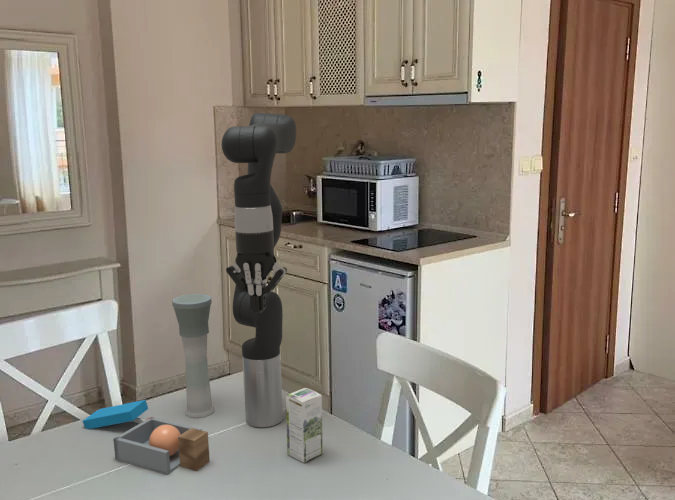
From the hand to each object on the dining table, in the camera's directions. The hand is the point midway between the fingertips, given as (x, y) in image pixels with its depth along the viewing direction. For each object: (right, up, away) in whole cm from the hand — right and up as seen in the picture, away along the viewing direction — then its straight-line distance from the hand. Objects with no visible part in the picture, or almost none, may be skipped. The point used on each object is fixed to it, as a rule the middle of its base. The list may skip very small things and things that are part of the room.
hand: (258, 312), depth 138 cm
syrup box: (+9, -33, +13) cm, 37 cm away
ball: (-22, -30, +12) cm, 39 cm away
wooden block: (-15, -34, +10) cm, 39 cm away
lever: (-36, -31, +29) cm, 56 cm away
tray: (-24, -33, +14) cm, 44 cm away
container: (-19, -29, +36) cm, 50 cm away
